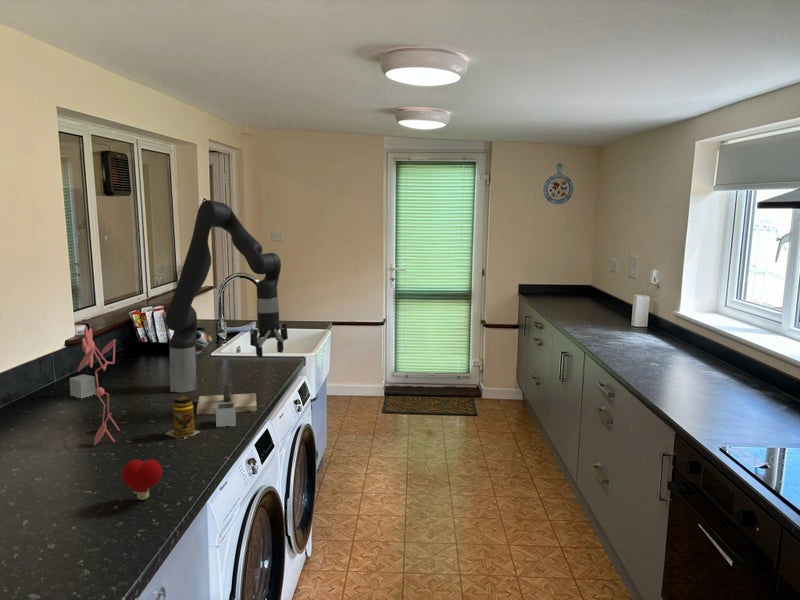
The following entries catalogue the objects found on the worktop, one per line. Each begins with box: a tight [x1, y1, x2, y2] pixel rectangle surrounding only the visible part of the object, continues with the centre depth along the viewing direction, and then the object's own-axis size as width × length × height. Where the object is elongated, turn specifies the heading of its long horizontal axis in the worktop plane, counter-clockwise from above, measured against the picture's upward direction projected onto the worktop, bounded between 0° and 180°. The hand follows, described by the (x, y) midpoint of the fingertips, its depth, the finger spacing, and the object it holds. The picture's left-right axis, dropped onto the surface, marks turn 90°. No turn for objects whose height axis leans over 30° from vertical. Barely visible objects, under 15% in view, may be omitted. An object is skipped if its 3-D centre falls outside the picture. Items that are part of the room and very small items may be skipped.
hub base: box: [196, 383, 258, 416], centre depth 206 cm, size 20×14×8 cm
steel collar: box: [215, 403, 237, 428], centre depth 190 cm, size 6×6×6 cm
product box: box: [69, 374, 96, 400], centre depth 213 cm, size 6×6×7 cm
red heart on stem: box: [121, 459, 163, 501], centre depth 140 cm, size 9×7×10 cm
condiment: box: [165, 394, 201, 440], centre depth 181 cm, size 7×8×12 cm
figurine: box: [64, 325, 126, 453], centre depth 173 cm, size 15×26×35 cm, turn 17°
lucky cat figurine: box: [195, 330, 213, 356], centre depth 278 cm, size 15×12×14 cm
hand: (270, 354), depth 205 cm, fingers open, 8 cm apart
